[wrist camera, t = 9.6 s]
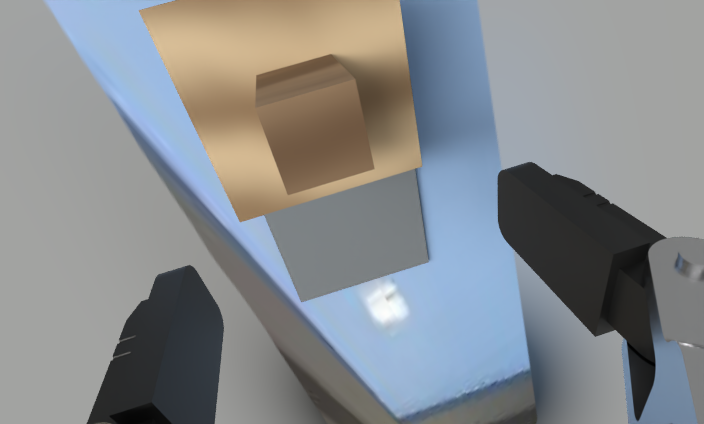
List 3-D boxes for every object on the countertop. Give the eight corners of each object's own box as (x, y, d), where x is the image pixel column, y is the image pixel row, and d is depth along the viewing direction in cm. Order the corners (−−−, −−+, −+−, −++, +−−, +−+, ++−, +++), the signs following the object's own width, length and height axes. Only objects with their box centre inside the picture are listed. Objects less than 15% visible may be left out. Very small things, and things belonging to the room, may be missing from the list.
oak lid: (143, 9, 18) (88, 22, 12) (386, -57, 18) (443, -74, 13) (240, 215, 24) (234, 287, 19) (417, 161, 25) (464, 214, 19)
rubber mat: (253, 186, 32) (252, 188, 32) (409, 140, 33) (411, 141, 33) (301, 299, 40) (301, 302, 40) (427, 259, 41) (428, 262, 40)
